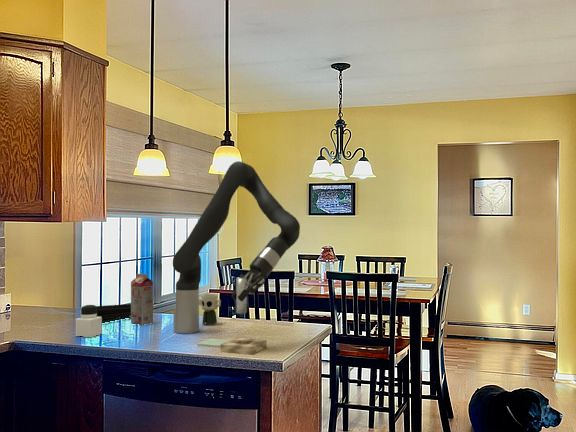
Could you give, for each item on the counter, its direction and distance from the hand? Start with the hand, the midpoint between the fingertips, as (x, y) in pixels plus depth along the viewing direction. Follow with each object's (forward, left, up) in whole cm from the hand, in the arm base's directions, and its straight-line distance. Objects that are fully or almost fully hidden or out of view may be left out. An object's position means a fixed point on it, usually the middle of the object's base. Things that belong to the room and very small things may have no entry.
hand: (236, 298), depth 202 cm
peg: (+1, +2, -5) cm, 5 cm away
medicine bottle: (-66, +1, -18) cm, 68 cm away
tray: (-85, +36, -18) cm, 94 cm away
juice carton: (-62, +30, -18) cm, 71 cm away
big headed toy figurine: (-34, +40, -18) cm, 56 cm away
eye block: (+2, +1, -18) cm, 18 cm away
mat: (-12, +6, -18) cm, 22 cm away
